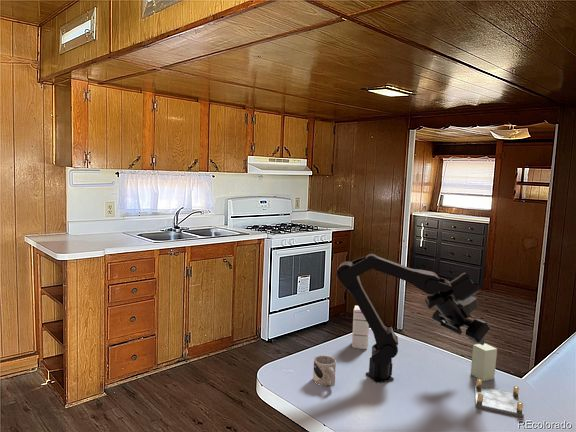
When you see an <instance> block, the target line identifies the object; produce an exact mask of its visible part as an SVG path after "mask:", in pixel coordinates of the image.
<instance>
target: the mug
mask: <svg viewBox="0 0 576 432" xmlns="http://www.w3.org/2000/svg"><path fill="white" fill-rule="evenodd" d="M336 364H337V360H336V358H334V357H333V356H330V355H318V356H315V357H314V358H313V371H312V376H313V377H312V381H313V380H314V381H313V382H316V383H317V384H316V383H315V384H316V385H318V384H320V385H319V386H321V385H323V386H322V387H328V386H329V387H332V388H333V387H335V385H336V368H337V367H336V366H337V365H336Z"/></svg>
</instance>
